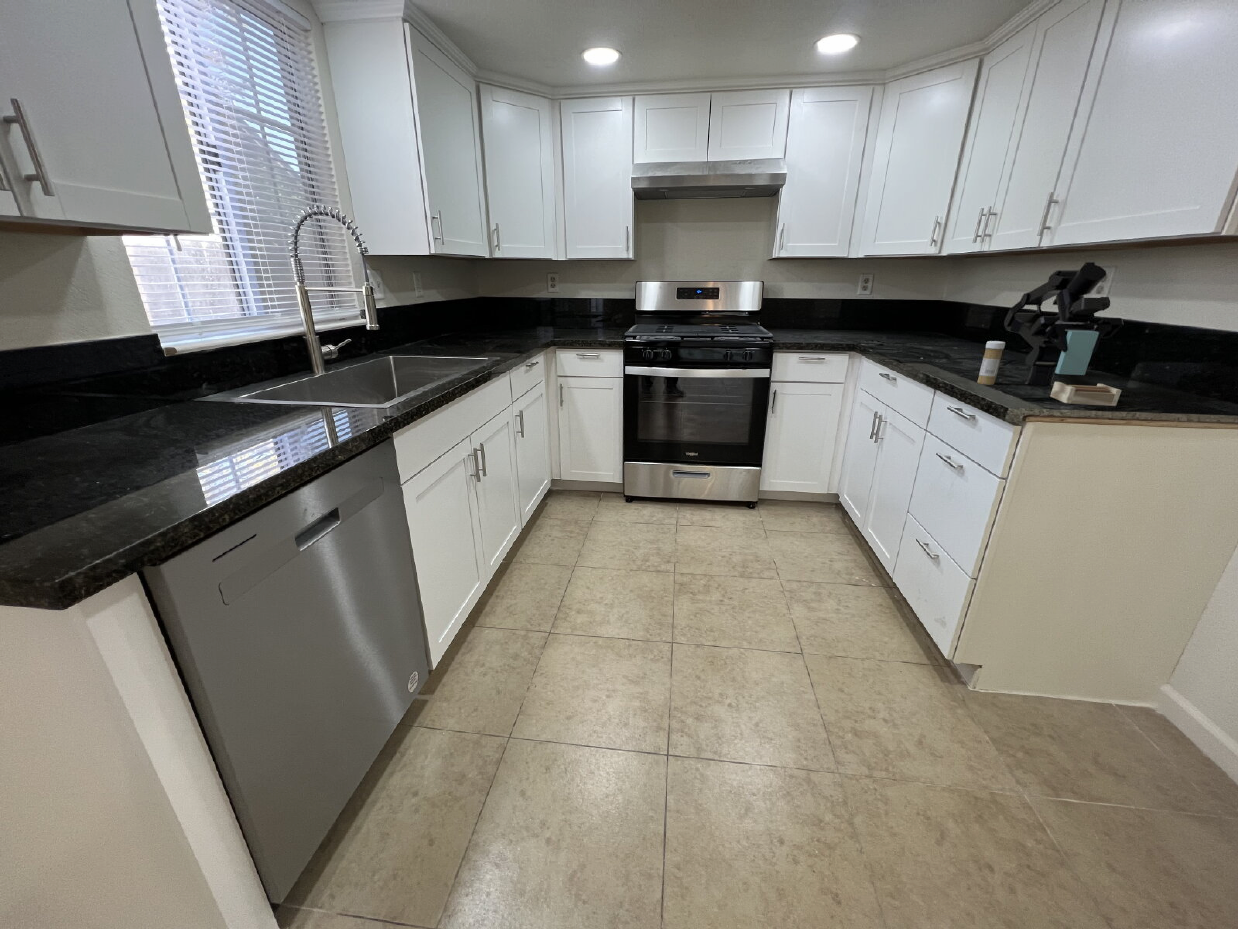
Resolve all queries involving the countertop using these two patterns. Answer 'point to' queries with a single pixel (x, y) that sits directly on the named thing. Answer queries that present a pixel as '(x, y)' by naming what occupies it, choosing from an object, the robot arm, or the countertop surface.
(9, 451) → the countertop surface
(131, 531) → the countertop surface
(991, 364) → the sprinkles bottle
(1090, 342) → the tall sheet
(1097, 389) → the offcut stack
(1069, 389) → the board rack
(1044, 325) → the robot arm
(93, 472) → the countertop surface
